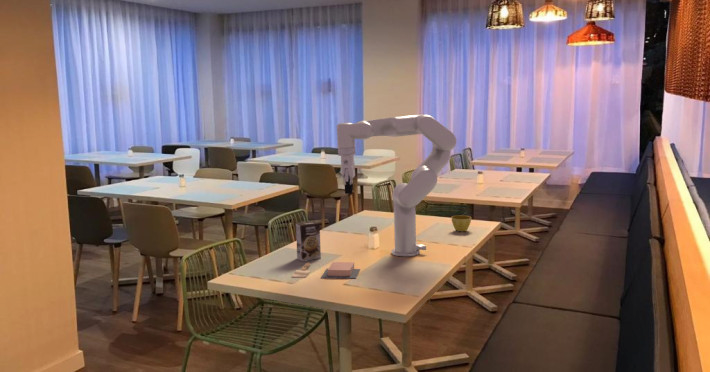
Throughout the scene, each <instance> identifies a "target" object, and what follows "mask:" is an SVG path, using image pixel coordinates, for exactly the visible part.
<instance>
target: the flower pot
mask: <svg viewBox="0 0 710 372" xmlns="http://www.w3.org/2000/svg"><path fill="white" fill-rule="evenodd" d="M451 222H452V226H453V228H454V230H455V231H456V230H457V231H466V230H467V231H468V229H469V228H470V225H471V223H472V217H471V216H469V215H464V214H463V215H461V214H460V215H453V216H451ZM457 231H456V232H457ZM467 231H466V232H467Z"/></svg>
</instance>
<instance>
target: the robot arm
mask: <svg viewBox="0 0 710 372" xmlns="http://www.w3.org/2000/svg"><path fill="white" fill-rule="evenodd" d="M336 133H337V134H336V137H337V155H338V156H340V161H341V162H340V166H341V177H342V179H344V194H345V195H351V194H353V191H354V190H353V182H352V181H353V180H352V179H354V178H355V177H356V169H355V168H356V167H355V159H354V156H355V155H357V154H356V140H368V139H370V138H371V137H392V138H394V137H403V136H404V137H405V136H414V135H422V136H424V137H425V138H426V139H427V140H429V141H430V142H431V144H432V149H431V152H430V153H429V155H428V156H427V157H426V158H425V159H424V160H423V161H422V162H421V163H420V164H419V165H418V166H417V167H416V168H415V169H414V170H413V171H412V173H411V177H410V178H411V180H410V181H409V182H408V183H407V182H402V183H398V184H397V185H396V186H395V187H394V189H393V190H392V191H393V192H392V203H393V218H394V219H393V221H394V222H393V223H394V226H393V227H394V231H393V232H394V248H393V249H391V252H390V253H391V255H393V256H397V257H405V258H407V257H414V256H415V257H416V256H418V255H420V254H421V253H420V252H421V251H420V250H422V251H426V250H427V245H424V244H418V241H417V232H416V231H417V228H416V227H417V226H416V225H417V224H416V222H417V220H416V218H417V216H416V215H417V214H416V206H417V205H419V204H420V203H421V202H422V201H423V200H424V199H425V198H426V197H427V196H428V195H429V194H430V193H431V192H432V191H433V190H434V188H435V187H436V185H437V183H438V175H439V174H440V172H441V171H442V170H443V169H444V168H445V167H446V165H448V162H449V161H450V157H451V153H452V152H451V150H453V149H454V148H455V147H456V145H457V137H456V135H455V134H454V133H453V132H452V131H451V130H450V129H448V128H447V126H446V127H445V126H444V125H443V124H442V123H440V121H438V120H437V119H436V118H435V117H433V116H431V115H429V114H412V115H403V116H402V115H401V116H392V117H387V118H379V119H378V118H377V119H376V118H375V119H366V120H360V121H357V122H355V123H352V122H342V123H338V124H337V125H336Z"/></svg>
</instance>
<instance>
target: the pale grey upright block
mask: <svg viewBox="0 0 710 372" xmlns="http://www.w3.org/2000/svg"><path fill="white" fill-rule="evenodd" d="M327 269H328V276H351V274H352V272H353V270H354V269H355V262H354V261H352V262H351V261H350V262H348V261H347V262H346V261H343V262H341V261H340V262H339V261H332V262H331V264H330V266H329V267H328V268H327Z"/></svg>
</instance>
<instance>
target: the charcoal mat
mask: <svg viewBox="0 0 710 372" xmlns="http://www.w3.org/2000/svg"><path fill="white" fill-rule="evenodd" d="M328 269H329V268H326V269H325V270H324V271H323V273H322V274H321V277H320V279H349V280H350V279H354V280H355V279H357V277H358V275H359V273H360V271H361V268H354V270H353V272H352V274H351V276H328Z"/></svg>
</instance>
